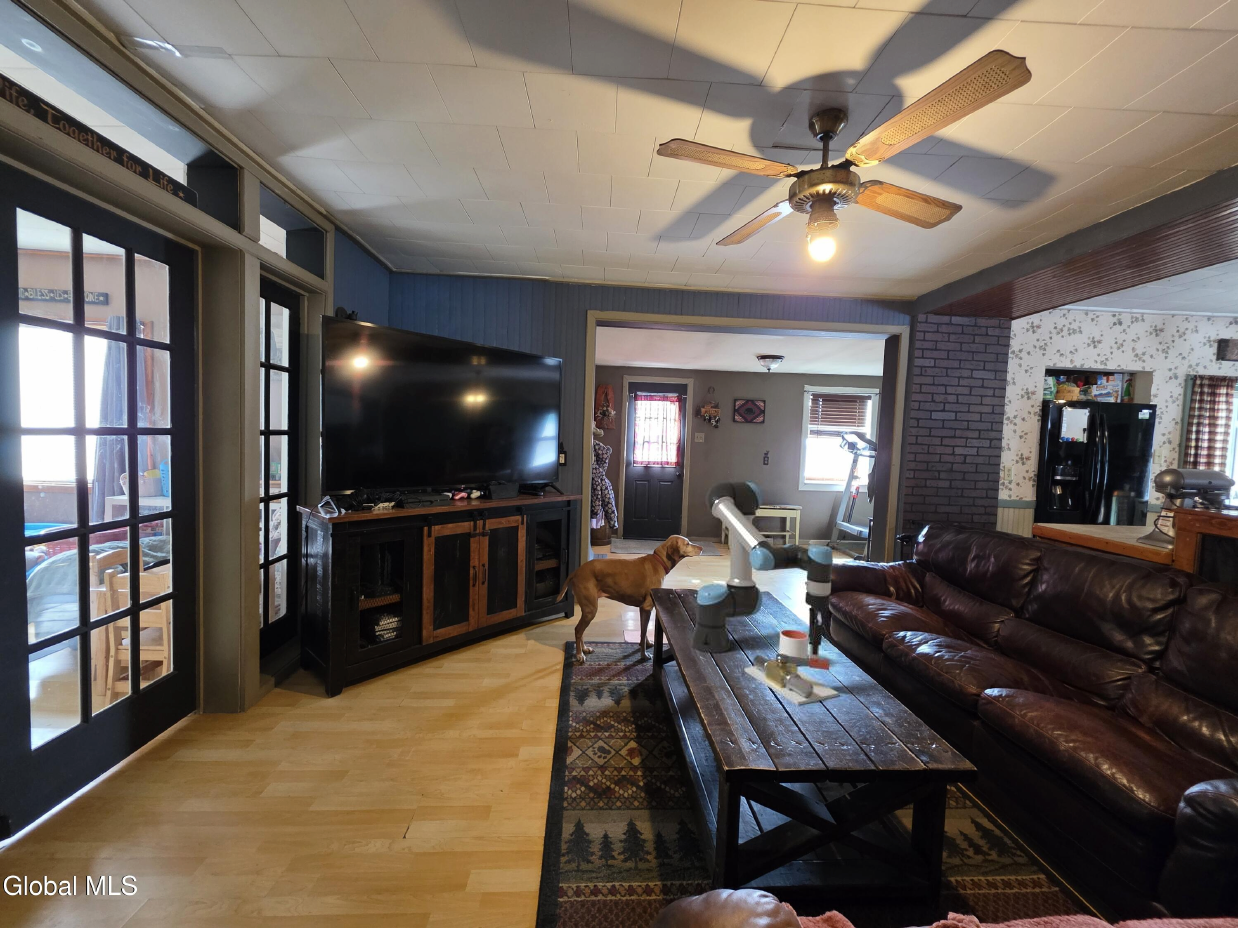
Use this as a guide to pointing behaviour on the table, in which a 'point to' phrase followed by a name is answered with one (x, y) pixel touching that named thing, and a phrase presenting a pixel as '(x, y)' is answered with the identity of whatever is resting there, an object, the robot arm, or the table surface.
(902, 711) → the table surface
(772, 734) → the table surface
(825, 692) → the board
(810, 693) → the valve
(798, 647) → the cup
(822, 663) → the lever
